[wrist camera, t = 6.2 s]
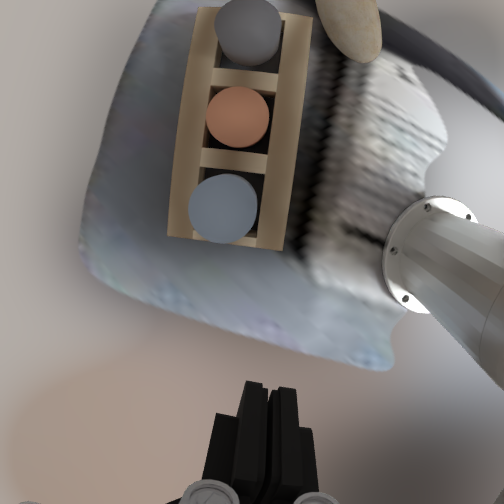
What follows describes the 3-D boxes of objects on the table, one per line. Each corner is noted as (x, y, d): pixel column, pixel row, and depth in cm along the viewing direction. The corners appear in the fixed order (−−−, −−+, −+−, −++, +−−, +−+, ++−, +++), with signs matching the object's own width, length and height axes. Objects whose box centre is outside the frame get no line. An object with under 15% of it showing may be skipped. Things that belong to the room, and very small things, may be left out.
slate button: (260, 177, 25) (260, 180, 22) (253, 235, 27) (251, 247, 23) (202, 170, 25) (191, 171, 22) (196, 227, 27) (185, 239, 23)
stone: (336, 69, 23) (290, -49, 17) (337, 65, 28) (299, -34, 22) (400, 59, 21) (355, -62, 15) (390, 56, 26) (353, -45, 20)
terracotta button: (271, 99, 26) (272, 90, 22) (264, 151, 27) (264, 149, 24) (217, 94, 26) (210, 83, 22) (210, 145, 27) (202, 143, 24)
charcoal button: (281, 21, 22) (284, 0, 18) (275, 69, 23) (277, 54, 19) (225, 16, 22) (219, -5, 18) (216, 63, 23) (209, 48, 19)
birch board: (308, 29, 25) (313, 17, 22) (280, 242, 30) (282, 251, 27) (204, 19, 24) (198, 6, 22) (175, 228, 30) (166, 235, 27)
